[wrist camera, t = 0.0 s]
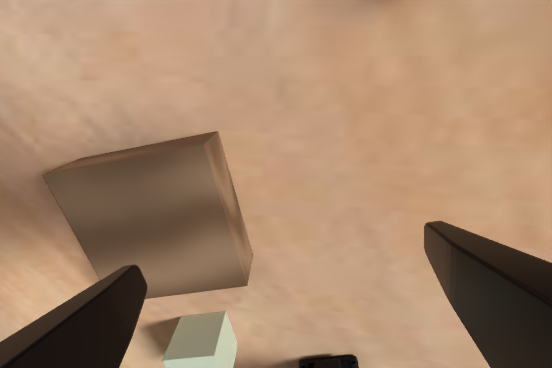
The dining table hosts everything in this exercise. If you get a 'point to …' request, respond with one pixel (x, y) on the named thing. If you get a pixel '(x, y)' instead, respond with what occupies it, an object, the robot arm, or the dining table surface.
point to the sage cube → (202, 342)
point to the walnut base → (159, 214)
